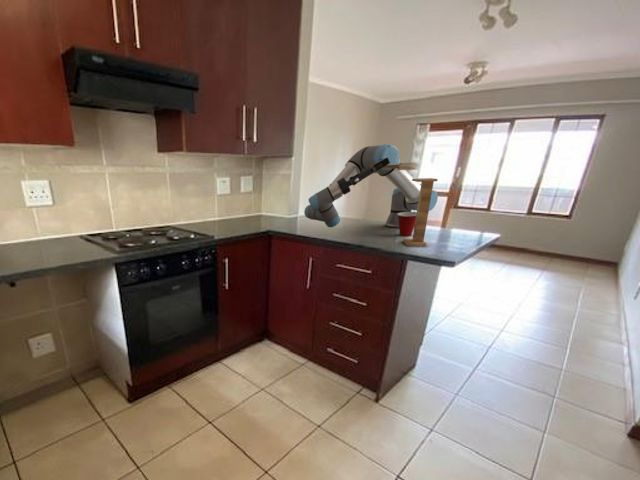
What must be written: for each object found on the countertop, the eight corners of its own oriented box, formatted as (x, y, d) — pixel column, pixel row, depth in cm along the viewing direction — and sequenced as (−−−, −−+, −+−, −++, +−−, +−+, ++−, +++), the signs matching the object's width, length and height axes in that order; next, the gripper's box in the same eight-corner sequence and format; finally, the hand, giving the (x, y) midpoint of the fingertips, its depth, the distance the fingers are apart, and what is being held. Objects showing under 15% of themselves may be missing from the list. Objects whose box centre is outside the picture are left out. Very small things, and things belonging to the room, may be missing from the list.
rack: (402, 241, 168) (412, 178, 157) (419, 241, 166) (430, 178, 155) (407, 246, 159) (417, 179, 148) (426, 246, 157) (437, 178, 146)
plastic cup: (389, 234, 185) (392, 212, 181) (403, 232, 189) (407, 211, 185) (406, 238, 176) (409, 214, 171) (420, 235, 180) (424, 212, 176)
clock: (368, 170, 159) (369, 164, 157) (414, 169, 155) (415, 162, 153) (371, 171, 151) (372, 164, 150) (419, 169, 147) (420, 162, 146)
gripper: (337, 182, 153) (388, 152, 144) (335, 180, 166) (381, 153, 158) (344, 196, 154) (395, 168, 146) (342, 194, 168) (388, 167, 160)
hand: (388, 160), depth 152 cm, fingers closed on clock, 2 cm apart
